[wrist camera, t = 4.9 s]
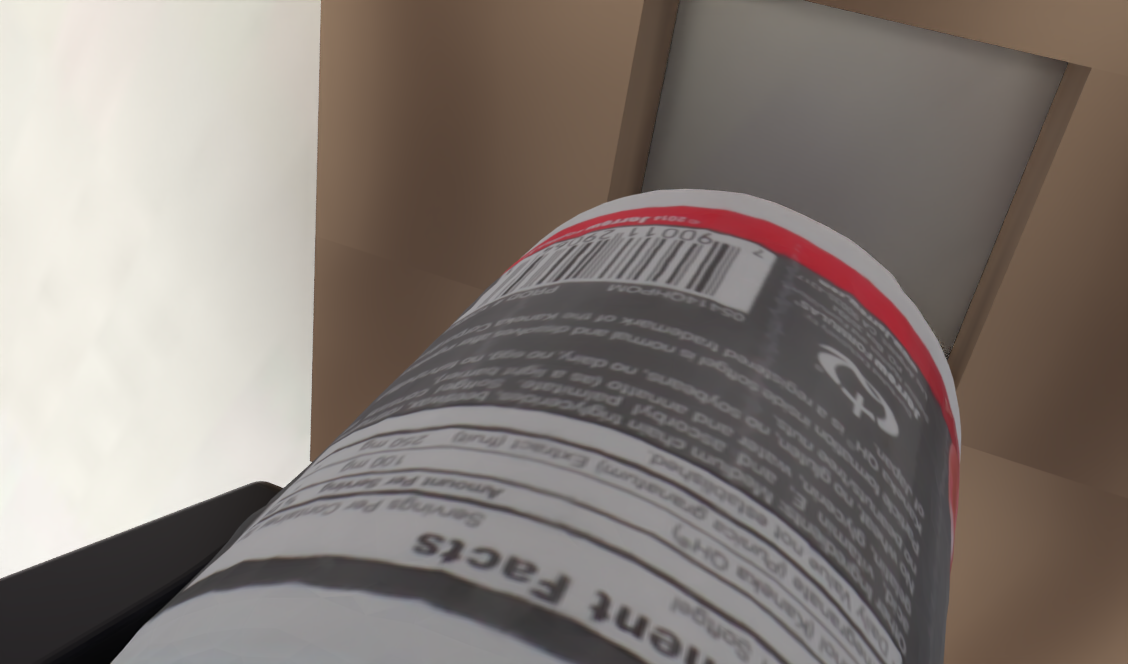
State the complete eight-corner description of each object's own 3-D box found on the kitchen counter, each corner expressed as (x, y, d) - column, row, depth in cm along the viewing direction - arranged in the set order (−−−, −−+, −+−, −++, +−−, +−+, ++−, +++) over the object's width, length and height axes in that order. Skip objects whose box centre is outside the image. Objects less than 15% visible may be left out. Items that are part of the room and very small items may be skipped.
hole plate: (1789, -341, 12) (1948, -363, 10) (1131, 682, 22) (1144, 779, 20) (419, -517, 16) (334, -558, 14) (366, 405, 26) (310, 460, 24)
